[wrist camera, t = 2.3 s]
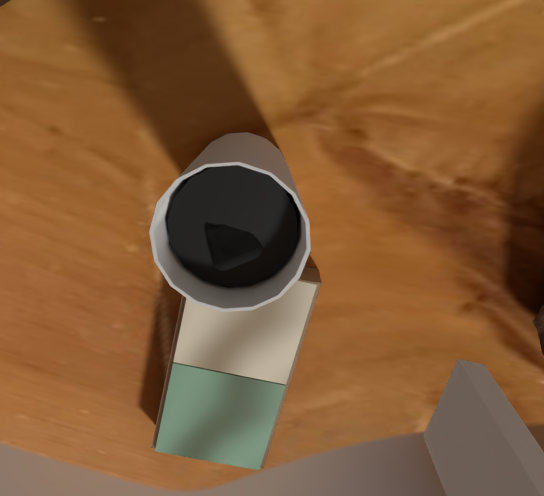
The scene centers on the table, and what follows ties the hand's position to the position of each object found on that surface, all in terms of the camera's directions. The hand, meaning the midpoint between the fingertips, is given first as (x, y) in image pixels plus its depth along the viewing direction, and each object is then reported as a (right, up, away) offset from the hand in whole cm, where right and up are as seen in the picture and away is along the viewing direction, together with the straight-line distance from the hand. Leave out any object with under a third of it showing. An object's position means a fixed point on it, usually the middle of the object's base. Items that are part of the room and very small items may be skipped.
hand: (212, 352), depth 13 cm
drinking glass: (0, +7, +17) cm, 18 cm away
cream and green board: (-1, -5, +21) cm, 22 cm away
